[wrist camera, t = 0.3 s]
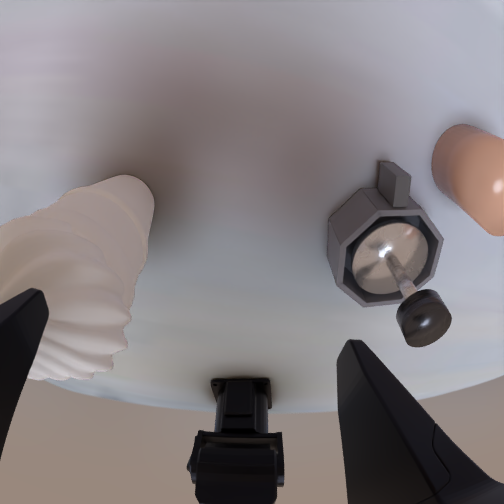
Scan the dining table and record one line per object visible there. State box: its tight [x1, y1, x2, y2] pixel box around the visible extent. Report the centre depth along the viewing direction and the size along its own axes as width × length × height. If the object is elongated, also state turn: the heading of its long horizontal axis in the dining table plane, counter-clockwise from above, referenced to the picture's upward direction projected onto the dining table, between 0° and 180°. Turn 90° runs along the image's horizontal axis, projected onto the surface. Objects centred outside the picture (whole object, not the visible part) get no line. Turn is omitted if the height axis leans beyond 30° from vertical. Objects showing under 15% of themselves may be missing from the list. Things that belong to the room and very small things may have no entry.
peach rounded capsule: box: [432, 124, 504, 236], centre depth 16 cm, size 6×6×6 cm
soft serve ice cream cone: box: [0, 175, 155, 381], centre depth 14 cm, size 8×8×16 cm
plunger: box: [351, 220, 452, 347], centre depth 17 cm, size 6×6×7 cm
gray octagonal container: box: [327, 162, 444, 307], centre depth 20 cm, size 10×8×4 cm
